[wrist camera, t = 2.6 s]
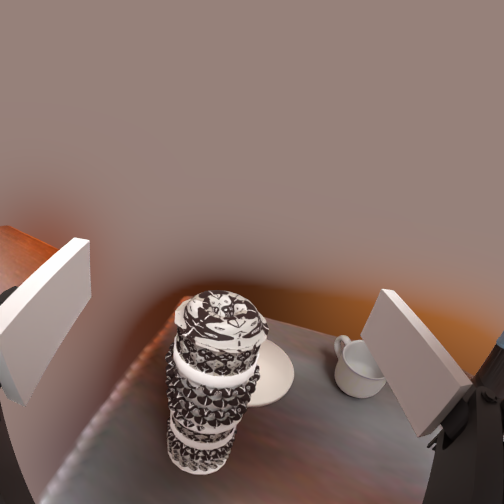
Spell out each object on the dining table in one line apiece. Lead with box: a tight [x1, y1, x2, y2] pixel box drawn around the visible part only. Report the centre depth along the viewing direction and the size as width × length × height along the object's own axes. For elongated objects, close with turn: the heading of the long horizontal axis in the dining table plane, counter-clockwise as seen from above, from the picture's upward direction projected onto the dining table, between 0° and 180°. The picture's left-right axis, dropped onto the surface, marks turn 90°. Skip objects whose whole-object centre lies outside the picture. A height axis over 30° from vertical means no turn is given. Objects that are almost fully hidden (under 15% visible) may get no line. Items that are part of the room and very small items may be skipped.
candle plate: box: [247, 339, 294, 407], centre depth 51 cm, size 19×19×1 cm
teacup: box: [334, 335, 387, 398], centre depth 51 cm, size 14×11×8 cm
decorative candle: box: [165, 290, 269, 475], centre depth 29 cm, size 9×9×25 cm
